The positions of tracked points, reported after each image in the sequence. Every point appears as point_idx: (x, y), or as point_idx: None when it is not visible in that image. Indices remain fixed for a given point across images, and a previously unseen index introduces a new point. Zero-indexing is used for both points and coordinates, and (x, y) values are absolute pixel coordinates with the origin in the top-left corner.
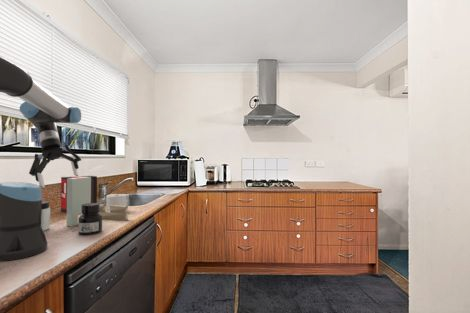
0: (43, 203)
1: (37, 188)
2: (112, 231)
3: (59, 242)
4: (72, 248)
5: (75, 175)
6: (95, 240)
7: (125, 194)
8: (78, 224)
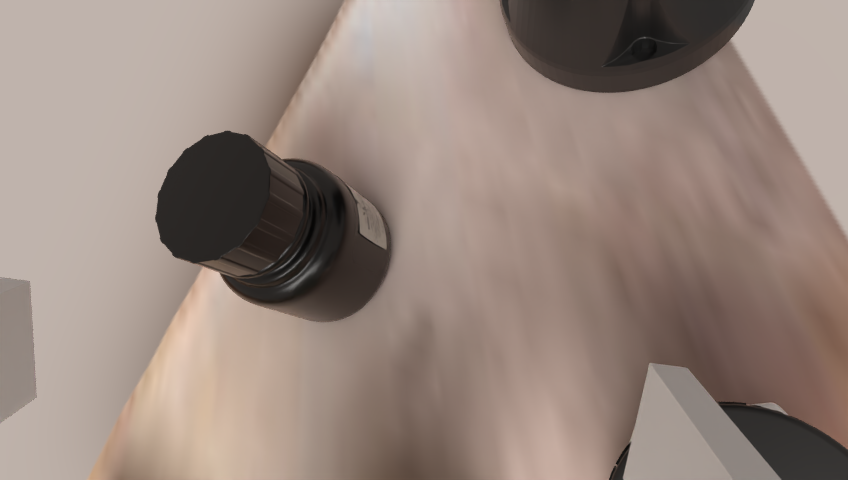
0: None
1: None
2: None
3: (469, 102)
4: (399, 3)
5: (31, 341)
6: (313, 94)
7: None
8: (364, 213)
